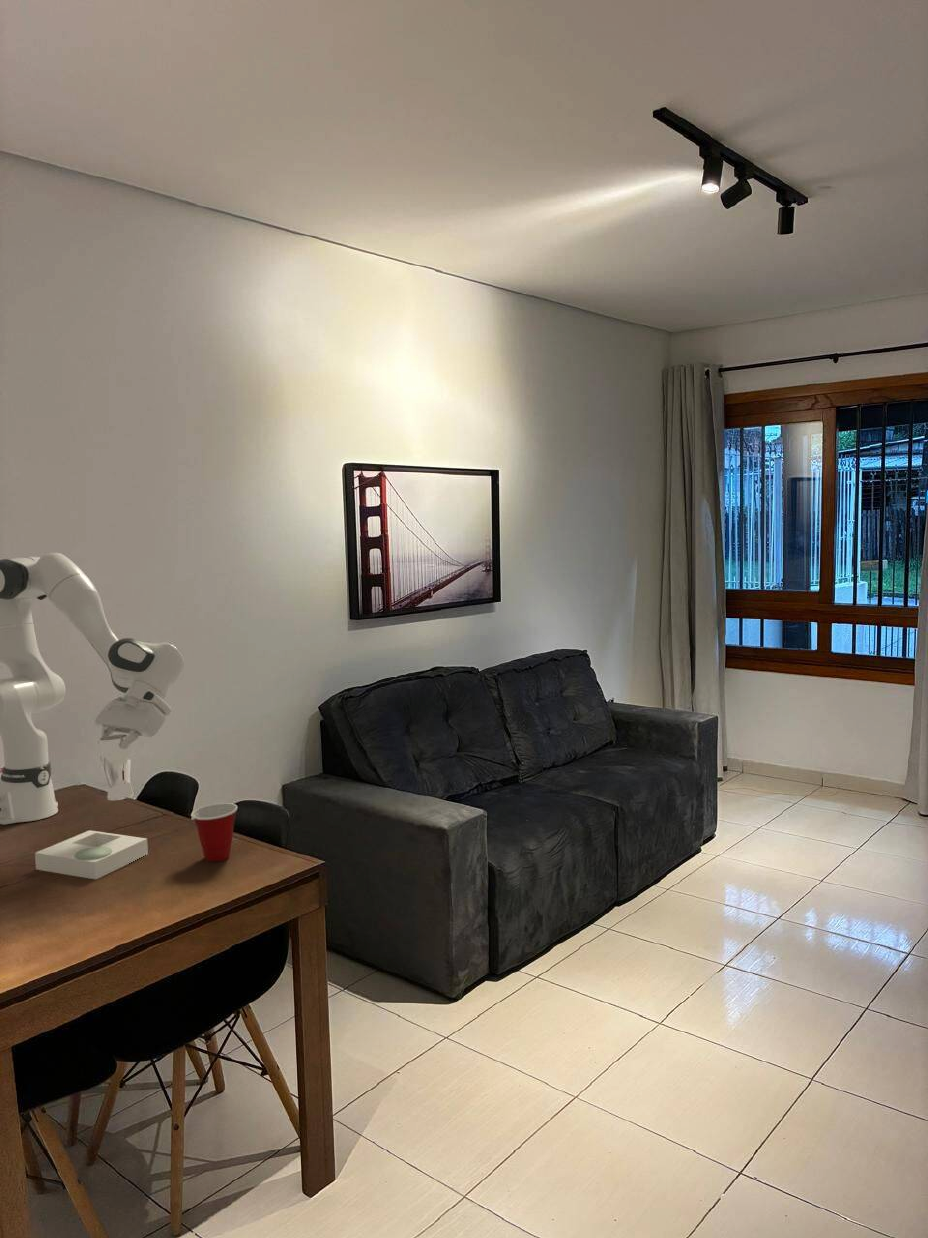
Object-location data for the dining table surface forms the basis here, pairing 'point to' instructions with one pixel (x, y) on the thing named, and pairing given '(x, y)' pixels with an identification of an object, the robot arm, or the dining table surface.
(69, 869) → the pale board
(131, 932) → the dining table surface
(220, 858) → the plastic cup
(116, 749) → the beer glass
